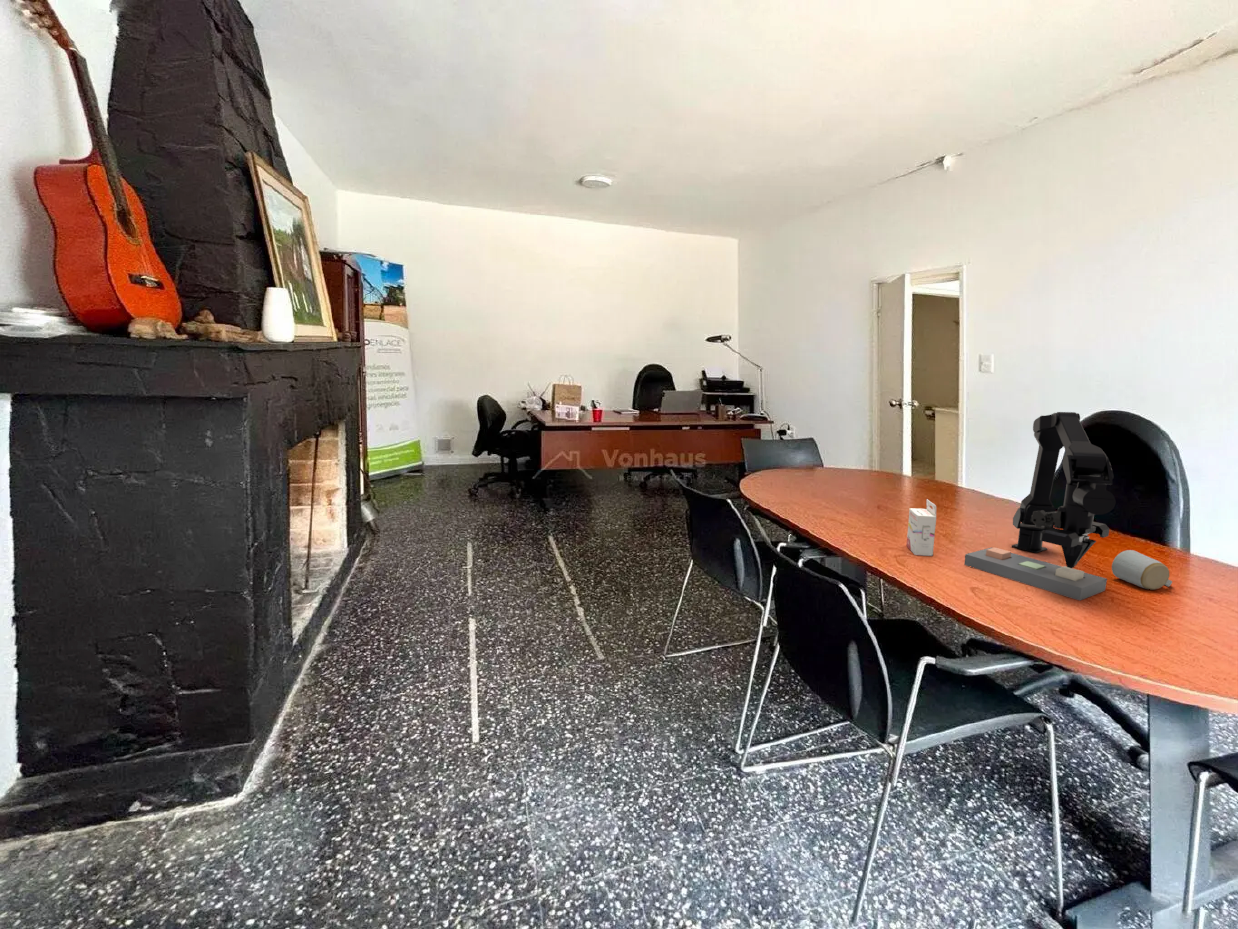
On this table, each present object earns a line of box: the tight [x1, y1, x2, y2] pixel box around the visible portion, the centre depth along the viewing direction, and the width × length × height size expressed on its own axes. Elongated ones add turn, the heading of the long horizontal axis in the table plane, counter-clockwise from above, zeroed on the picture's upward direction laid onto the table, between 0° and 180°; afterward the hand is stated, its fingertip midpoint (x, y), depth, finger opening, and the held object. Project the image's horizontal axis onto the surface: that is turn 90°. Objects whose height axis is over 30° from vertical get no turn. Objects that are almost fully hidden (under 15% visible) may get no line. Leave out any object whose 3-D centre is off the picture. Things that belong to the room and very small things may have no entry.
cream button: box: [1055, 565, 1085, 581], centre depth 132 cm, size 4×4×2 cm
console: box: [963, 547, 1108, 601], centre depth 139 cm, size 12×26×3 cm, turn 27°
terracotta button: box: [986, 547, 1012, 560], centre depth 146 cm, size 4×4×2 cm
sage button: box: [1019, 561, 1045, 570], centre depth 139 cm, size 4×4×2 cm
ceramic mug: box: [1111, 549, 1173, 591], centre depth 134 cm, size 11×8×8 cm
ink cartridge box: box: [906, 498, 937, 557], centre depth 158 cm, size 9×5×15 cm, turn 168°
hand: (1070, 567), depth 132 cm, fingers closed
